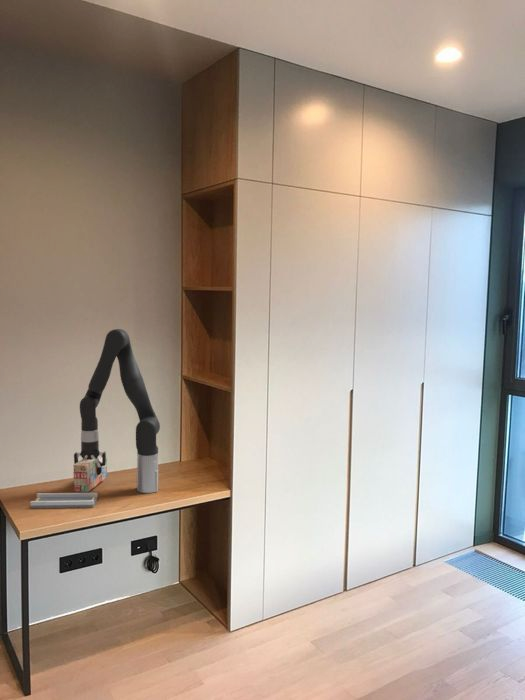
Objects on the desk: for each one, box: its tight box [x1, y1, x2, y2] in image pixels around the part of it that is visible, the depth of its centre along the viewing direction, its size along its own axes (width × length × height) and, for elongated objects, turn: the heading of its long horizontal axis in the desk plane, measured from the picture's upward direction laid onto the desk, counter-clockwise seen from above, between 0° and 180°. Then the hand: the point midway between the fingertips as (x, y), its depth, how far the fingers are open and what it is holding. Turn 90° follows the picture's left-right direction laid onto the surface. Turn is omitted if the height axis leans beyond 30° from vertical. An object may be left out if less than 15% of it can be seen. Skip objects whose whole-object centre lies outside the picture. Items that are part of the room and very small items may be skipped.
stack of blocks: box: [73, 456, 108, 493], centre depth 256 cm, size 21×6×12 cm, turn 172°
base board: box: [30, 492, 98, 509], centre depth 238 cm, size 25×10×3 cm, turn 97°
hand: (90, 474), depth 255 cm, fingers closed on stack of blocks, 7 cm apart
